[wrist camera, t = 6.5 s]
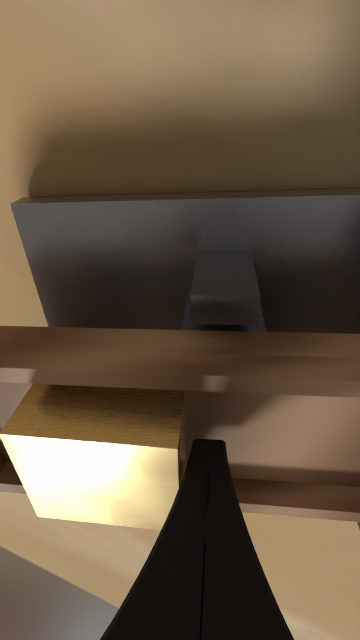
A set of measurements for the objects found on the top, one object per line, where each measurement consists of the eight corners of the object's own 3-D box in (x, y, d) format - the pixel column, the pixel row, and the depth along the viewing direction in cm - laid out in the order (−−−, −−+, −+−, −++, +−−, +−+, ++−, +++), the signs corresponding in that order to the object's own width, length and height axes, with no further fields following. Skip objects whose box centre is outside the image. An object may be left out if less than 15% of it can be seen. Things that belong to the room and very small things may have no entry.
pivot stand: (457, 185, 12) (573, 226, 8) (359, 444, 19) (394, 529, 15) (23, 197, 13) (-57, 235, 10) (90, 429, 21) (61, 503, 17)
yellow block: (186, 382, 11) (177, 449, 9) (187, 464, 13) (180, 532, 11) (39, 373, 11) (-2, 434, 9) (66, 454, 14) (37, 516, 12)
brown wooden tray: (603, 256, 9) (723, 306, 7) (440, 499, 15) (476, 564, 13) (-74, 258, 11) (-145, 296, 9) (27, 468, 18) (0, 519, 15)
